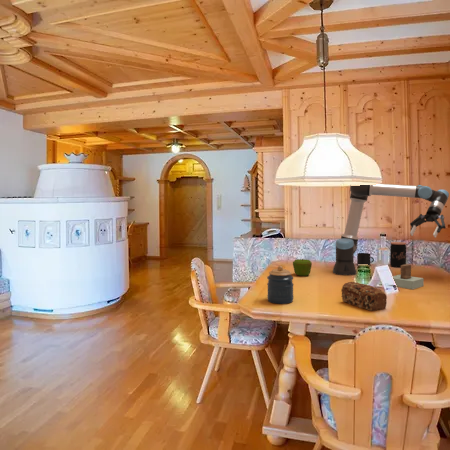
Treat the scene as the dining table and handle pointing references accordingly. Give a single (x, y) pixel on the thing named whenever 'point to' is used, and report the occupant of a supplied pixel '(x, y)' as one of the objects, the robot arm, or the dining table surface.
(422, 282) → the end cap
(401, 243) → the coffee jar
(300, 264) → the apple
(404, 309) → the dining table surface
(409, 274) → the slat
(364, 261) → the mug
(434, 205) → the robot arm
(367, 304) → the bread
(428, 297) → the dining table surface
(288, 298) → the canister
